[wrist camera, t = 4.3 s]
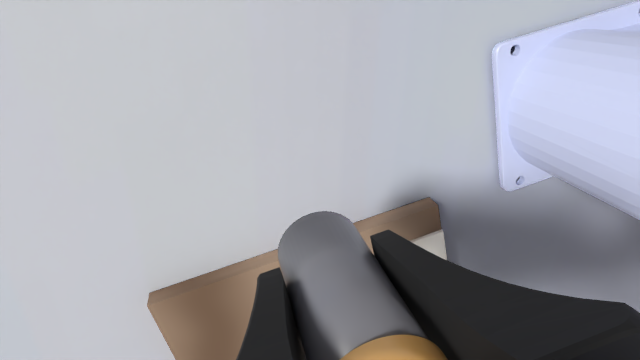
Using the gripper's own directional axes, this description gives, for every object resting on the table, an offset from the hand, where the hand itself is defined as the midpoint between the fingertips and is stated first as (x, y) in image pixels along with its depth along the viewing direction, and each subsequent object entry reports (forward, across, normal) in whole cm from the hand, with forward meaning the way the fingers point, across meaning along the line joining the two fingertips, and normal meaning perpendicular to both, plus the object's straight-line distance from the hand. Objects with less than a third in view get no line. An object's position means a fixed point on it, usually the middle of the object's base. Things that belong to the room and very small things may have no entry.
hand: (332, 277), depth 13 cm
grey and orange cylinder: (+2, 0, 0) cm, 2 cm away
